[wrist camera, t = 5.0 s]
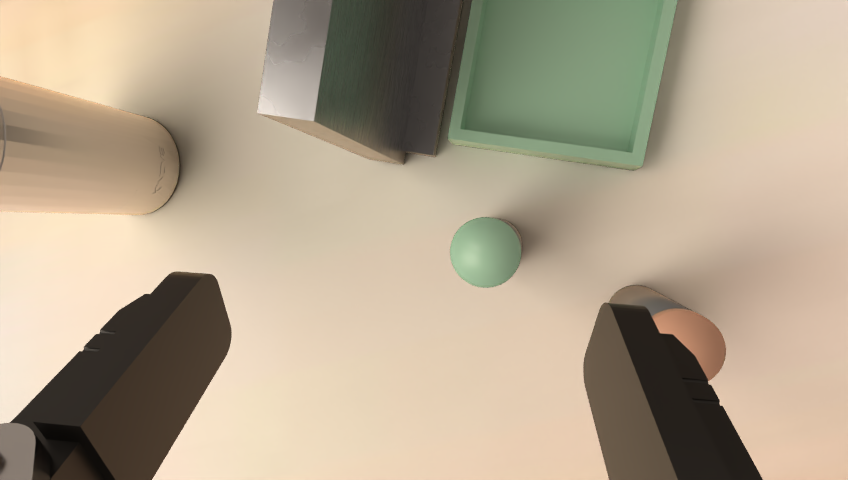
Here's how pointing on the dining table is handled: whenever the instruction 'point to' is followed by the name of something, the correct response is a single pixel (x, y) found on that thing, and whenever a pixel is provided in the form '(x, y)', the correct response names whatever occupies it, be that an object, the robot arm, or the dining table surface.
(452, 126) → the green tray
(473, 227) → the green-capped canister
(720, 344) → the terracotta-capped canister
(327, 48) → the label unit
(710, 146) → the dining table surface
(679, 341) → the robot arm
